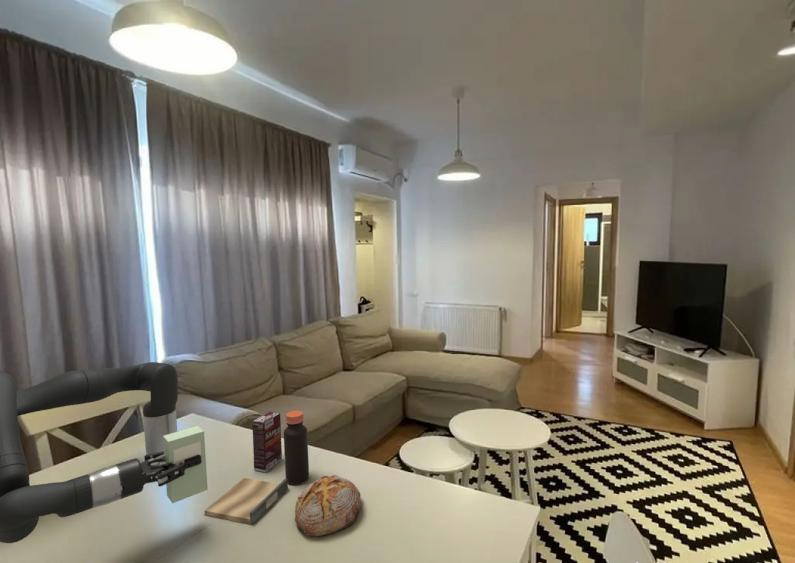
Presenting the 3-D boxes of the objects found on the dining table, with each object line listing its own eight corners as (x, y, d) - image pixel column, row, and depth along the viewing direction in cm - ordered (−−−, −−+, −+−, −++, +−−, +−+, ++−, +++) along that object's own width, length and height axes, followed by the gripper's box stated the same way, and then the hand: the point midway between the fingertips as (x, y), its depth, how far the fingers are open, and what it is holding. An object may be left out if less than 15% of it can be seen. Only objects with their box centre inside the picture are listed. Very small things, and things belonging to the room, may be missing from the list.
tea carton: (166, 495, 101) (162, 435, 100) (201, 482, 107) (197, 425, 106) (172, 503, 98) (168, 441, 97) (207, 489, 103) (204, 431, 102)
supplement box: (266, 473, 128) (263, 423, 127) (253, 470, 130) (250, 421, 129) (283, 459, 136) (281, 412, 135) (271, 457, 138) (268, 411, 137)
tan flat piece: (204, 514, 108) (203, 503, 108) (244, 481, 124) (243, 472, 123) (253, 524, 104) (253, 513, 104) (288, 489, 119) (288, 479, 119)
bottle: (298, 470, 129) (296, 407, 128) (314, 477, 125) (311, 412, 124) (281, 480, 124) (277, 415, 122) (296, 488, 120) (293, 420, 118)
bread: (282, 540, 100) (278, 500, 99) (316, 492, 119) (312, 459, 118) (347, 545, 96) (343, 503, 95) (370, 495, 115) (367, 460, 115)
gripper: (111, 485, 98) (189, 459, 109) (123, 512, 87) (208, 480, 99) (108, 454, 97) (187, 431, 109) (120, 478, 87) (206, 450, 98)
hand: (197, 455), depth 104 cm, fingers closed on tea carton, 4 cm apart
